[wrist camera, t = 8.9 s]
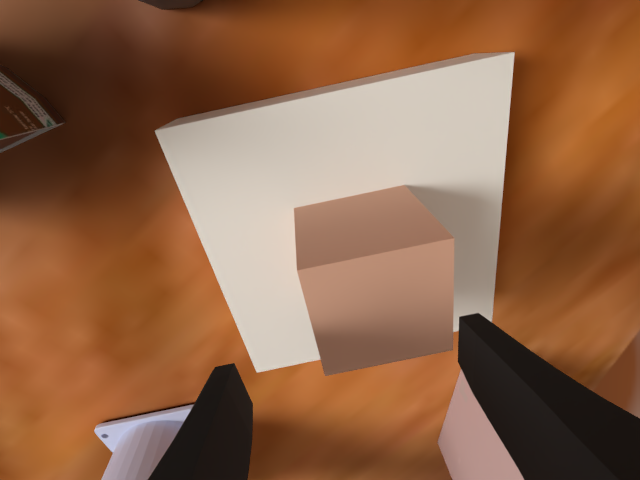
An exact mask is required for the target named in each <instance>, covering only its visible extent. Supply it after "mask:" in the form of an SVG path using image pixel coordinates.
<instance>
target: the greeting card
mask: <svg viewBox="0 0 640 480" xmlns="http://www.w3.org/2000/svg"><path fill="white" fill-rule="evenodd" d="M438 445H439V447H440V450H441V452H442V455H443V457H444V460H445V462H446V465H447V467H448V470H449V472H450V475H451V478H452V480H524V478H523V476H522V475H521V473H520V471H519V469H518V468H517V466H516V464H515V463H514V461H513V459H512V458H511V456H510V454H509V453H508V451H507V449H506V448H505V446H504V444H503V443H502V441H501V440H500V438H499V436H498V435H497V433H496V431H495V430H494V428H493V426H492V425H491V423H490V421H489V420H488V418H487V416H486V415H485V413H484V411H483V410H482V408H481V406H480V405H479V403H478V401H477V400H476V398H475V396H474V395H473V393H472V391H471V389H470V387H469V384H468V382H467V380H466V378H465V376H464V374H463V371H462V369H461V371H460V374H459V377H458V380H457V383H456V386H455V390H454V393H453V396H452V399H451V402H450V405H449V408H448V411H447V415H446V418H445V421H444V424H443V427H442V430H441V433H440V436H439V440H438Z"/></svg>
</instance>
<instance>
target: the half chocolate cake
mask: <svg viewBox="0 0 640 480" xmlns="http://www.w3.org/2000/svg"><path fill="white" fill-rule="evenodd" d="M64 123H66V122H65V121H64V120H63V119H62V117H61V116H60V115H59V114H58V113H57V112H56V110H55V109H54V108H53V107H52V106H51V104H50V103H49V102H48V101H47V100H46V99H45V98H44V97H43V96H42V95H41V94H39V93H38V92H37V91H36V90H34V89H33V88H32V87H31V86H29V85H28V84H27V83H25V82H24V81H23V80H22V79H20V78H19V77H18V76H17V75H15V74H14V73H13V72H12V71H10V70H9V69H8V68H6V67H4V66H2V65H0V153H1V152H3V151H6V150H8V149H10V148H12V147H14V146H16V145H19V144H21V143H23V142H25V141H27V140H29V139H31V138H34V137H36V136H38V135H40V134H42V133H44V132H47V131H49V130H51V129H53V128H55V127H57V126H60V125H62V124H64Z"/></svg>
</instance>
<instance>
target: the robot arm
mask: <svg viewBox="0 0 640 480" xmlns="http://www.w3.org/2000/svg"><path fill="white" fill-rule="evenodd" d="M458 363H459V365H460V367H461V369H462V371H463V374H464V376H465V378H466V380H467V382H468V384H469V387H470V389H471V391H472V393H473V395H474V396H475V398H476V400H477V401H478V403H479V405H480V406H481V408H482V410H483V411H484V413H485V415H486V416H487V418H488V420H489V421H490V423H491V425H492V426H493V428H494V430H495V431H496V433H497V435H498V436H499V438H500V440H501V441H502V443H503V444H504V446H505V448H506V449H507V451H508V453H509V454H510V456H511V458H512V459H513V461H514V463H515V464H516V466H517V468H518V469H519V471H520V473H521V475H522V476H523V478H524V480H640V419H639V418H638V417H636V416H634V415H632V414H631V413H629V412H627V411H625V410H623V409H622V408H620V407H618V406H616V405H614V404H613V403H611V402H609V401H607V400H606V399H604V398H602V397H600V396H599V395H597V394H596V393H594V392H592V391H591V390H589V389H588V388H586V387H584V386H583V385H581V384H580V383H578V382H577V381H575V380H573V379H572V378H570V377H569V376H567V375H566V374H564V373H563V372H561V371H559V370H558V369H556V368H555V367H553V366H552V365H551V364H549V363H548V362H546V361H545V360H543V359H542V358H540V357H539V356H537V355H536V354H535V353H533V352H532V351H530V350H529V349H527V348H526V347H525V346H523V345H522V344H520V343H519V342H518V341H516V340H515V339H514V338H512V337H511V336H509V335H508V334H507V333H505V332H504V331H503V330H501V329H500V328H499V327H497V326H496V325H495V324H493V323H492V322H490V321H489V320H488V319H486V318H485V317H484V316H482V315H481V314H479V313H475V314H470V315H465V316H460V317H459V342H458ZM252 426H253V403H252V401H251V399H250V397H249V395H248V392H247V390H246V388H245V386H244V384H243V381H242V379H241V377H240V375H239V373H238V370H237V368H236V366H235V364H234V363H233V364H228V365H223V366H218V367H215V368H214V370H213V371H212V373H211V375H210V377H209V378H208V380H207V382H206V384H205V386H204V387H203V389H202V391H201V393H200V395H199V396H198V398H197V400H196V402H195V404H193V405H188V406H183V407H178V408H173V409H169V410H164V411H159V412H154V413H149V414H144V415H139V416H135V417H130V418H125V419H120V420H115V421H110V422H106V423H101V424H98V425H97V426H96V428H95V431H94V432H95V433H96V435H97V436H98V437H99V438H100V439H101V440H102V441H103V442H104V443H105V445H106V446H107V447H108V448H109V449H110V450H111V451H112V452H113V454H112V457H111V459H110V461H109V464H108V466H107V468H106V470H105V473H104V475H103V477H102V479H101V480H247V479H248V471H249V462H250V454H251V445H252Z"/></svg>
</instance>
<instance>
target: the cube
mask: <svg viewBox="0 0 640 480" xmlns="http://www.w3.org/2000/svg"><path fill="white" fill-rule="evenodd" d="M294 223H295V243H296V263H297V273H298V277H299V280H300V284H301V288H302V292H303V295H304V299H305V303H306V307H307V310H308V314H309V318H310V321H311V325H312V329H313V333H314V336H315V340H316V344H317V348H318V351H319V355H320V359H321V363H322V366H323V370H324V374H325V376H328V375H333V374H338V373H342V372H347V371H352V370H357V369H362V368H367V367H372V366H377V365H382V364H387V363H392V362H397V361H401V360H406V359H411V358H416V357H421V356H426V355H431V354H436V353H441V352H446V351H451V350H453V307H454V237H453V236H452V235H451V234H450V233H449V232H448V231H447V230H446V228H445V227H444V226H443V225H442V224H441V223H440V222H439V221H438V220H437V219H436V218H435V217H434V216H433V215H432V214H431V213H430V212H429V210H428V209H427V208H426V207H425V206H424V205H423V204H422V203H421V202H420V201H419V200H418V199H417V198H416V197H415V196H414V195H413V194H412V193H411V191H410V190H409V189H408V188H407V187H406V186H405V185H402V186H397V187H392V188H387V189H382V190H378V191H373V192H368V193H363V194H359V195H354V196H349V197H344V198H339V199H335V200H330V201H325V202H320V203H316V204H311V205H306V206H301V207H296V208H294Z"/></svg>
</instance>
